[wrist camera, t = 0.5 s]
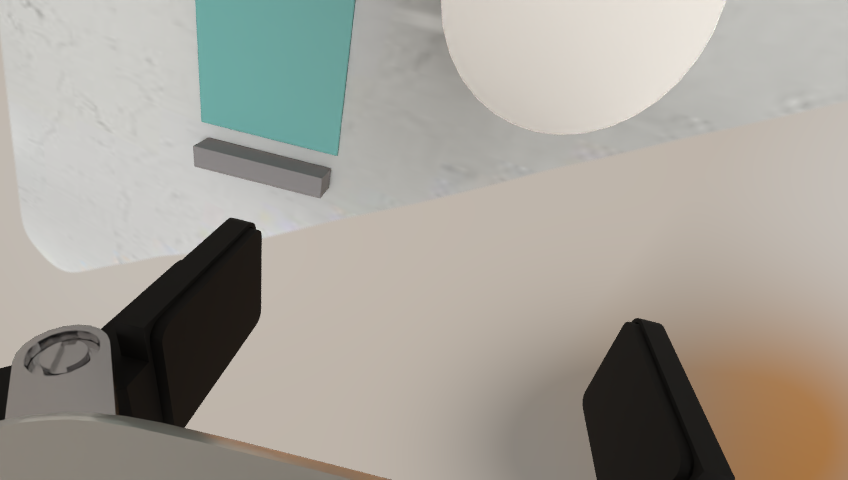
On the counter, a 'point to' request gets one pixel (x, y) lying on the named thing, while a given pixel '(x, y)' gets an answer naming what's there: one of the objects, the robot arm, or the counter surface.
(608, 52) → the cylindrical container
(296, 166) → the wall
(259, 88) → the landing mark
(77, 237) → the counter surface
